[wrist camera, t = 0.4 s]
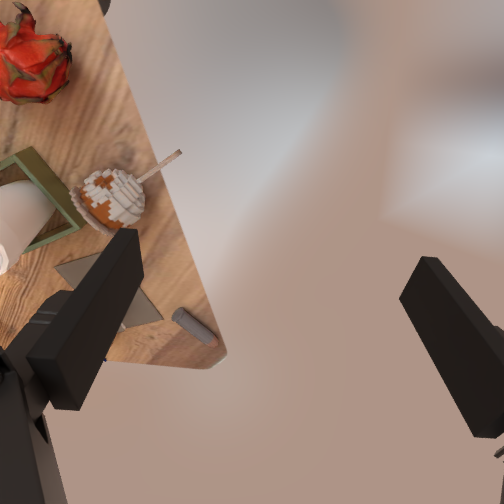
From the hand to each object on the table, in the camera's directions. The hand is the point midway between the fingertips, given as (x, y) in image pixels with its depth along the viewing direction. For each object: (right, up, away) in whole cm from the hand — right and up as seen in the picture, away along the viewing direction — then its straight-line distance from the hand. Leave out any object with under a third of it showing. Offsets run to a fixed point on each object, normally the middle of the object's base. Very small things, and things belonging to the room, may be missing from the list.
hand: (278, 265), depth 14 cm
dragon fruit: (-26, +23, +21) cm, 40 cm away
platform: (-28, -7, +42) cm, 51 cm away
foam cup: (-34, +9, +31) cm, 47 cm away
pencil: (-12, -14, +47) cm, 50 cm away
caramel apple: (-23, +5, +26) cm, 35 cm away
